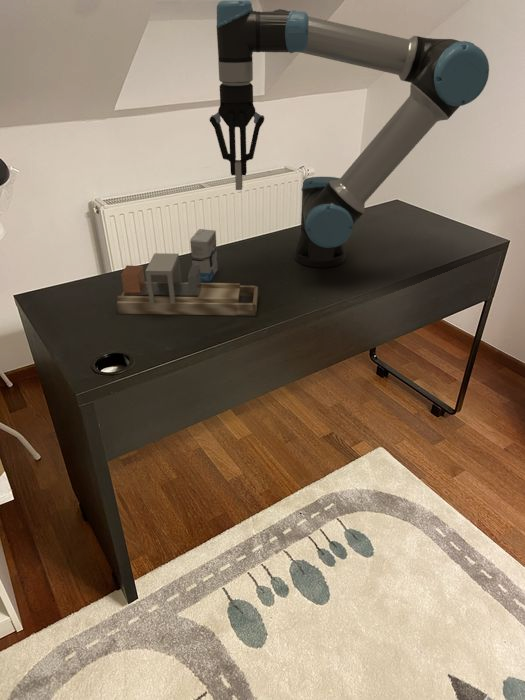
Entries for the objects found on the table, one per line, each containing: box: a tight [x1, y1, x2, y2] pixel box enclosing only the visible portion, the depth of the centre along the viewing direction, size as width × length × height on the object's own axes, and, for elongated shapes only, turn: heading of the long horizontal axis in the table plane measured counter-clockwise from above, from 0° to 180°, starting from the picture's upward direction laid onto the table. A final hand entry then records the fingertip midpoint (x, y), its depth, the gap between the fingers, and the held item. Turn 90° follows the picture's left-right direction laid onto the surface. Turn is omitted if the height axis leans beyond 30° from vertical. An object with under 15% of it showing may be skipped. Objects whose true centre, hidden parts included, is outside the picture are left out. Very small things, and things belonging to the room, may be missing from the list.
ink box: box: [189, 228, 218, 283], centre depth 142 cm, size 8×5×12 cm, turn 168°
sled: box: [120, 264, 202, 297], centre depth 128 cm, size 18×6×6 cm, turn 88°
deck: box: [116, 281, 259, 317], centre depth 130 cm, size 34×10×4 cm, turn 88°
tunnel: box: [144, 252, 182, 304], centre depth 127 cm, size 6×10×8 cm, turn 178°
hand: (239, 188), depth 131 cm, fingers closed
